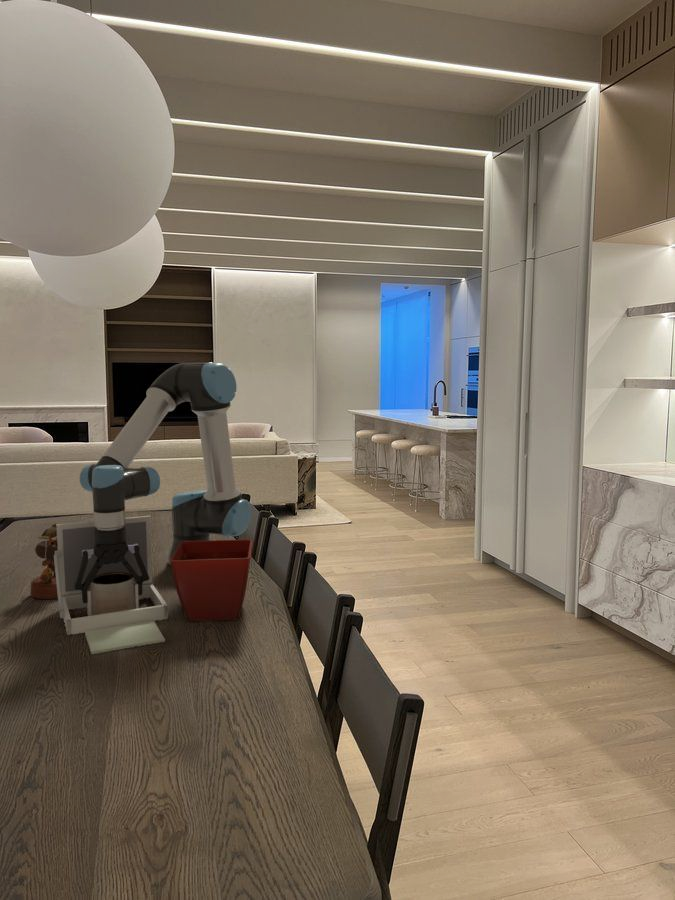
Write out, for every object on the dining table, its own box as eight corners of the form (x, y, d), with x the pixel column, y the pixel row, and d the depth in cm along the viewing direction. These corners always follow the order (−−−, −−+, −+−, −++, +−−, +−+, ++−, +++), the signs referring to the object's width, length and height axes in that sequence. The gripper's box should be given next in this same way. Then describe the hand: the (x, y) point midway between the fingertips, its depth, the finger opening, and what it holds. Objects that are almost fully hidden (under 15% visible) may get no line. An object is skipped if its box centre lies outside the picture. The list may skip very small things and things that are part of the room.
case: (152, 595, 188) (149, 515, 185) (168, 618, 170) (165, 531, 168) (56, 608, 177) (51, 524, 175) (62, 635, 159) (57, 542, 157)
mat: (153, 622, 168) (153, 620, 168) (164, 641, 156) (164, 639, 156) (84, 633, 161) (84, 631, 161) (91, 654, 149) (91, 651, 149)
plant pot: (182, 601, 184) (180, 540, 182) (253, 598, 185) (252, 538, 183) (171, 627, 165) (169, 560, 163) (250, 625, 166) (249, 558, 164)
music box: (69, 600, 184) (66, 528, 181) (25, 603, 181) (21, 530, 179) (77, 583, 198) (74, 516, 196) (37, 586, 196) (33, 518, 194)
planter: (97, 607, 178) (95, 572, 177) (139, 606, 179) (138, 571, 178) (85, 622, 168) (83, 585, 167) (130, 621, 169) (129, 584, 167)
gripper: (153, 519, 179) (156, 599, 182) (59, 528, 169) (63, 613, 172) (159, 525, 173) (162, 608, 175) (61, 535, 162) (65, 623, 165)
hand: (113, 611), depth 173 cm, fingers closed on planter, 11 cm apart
